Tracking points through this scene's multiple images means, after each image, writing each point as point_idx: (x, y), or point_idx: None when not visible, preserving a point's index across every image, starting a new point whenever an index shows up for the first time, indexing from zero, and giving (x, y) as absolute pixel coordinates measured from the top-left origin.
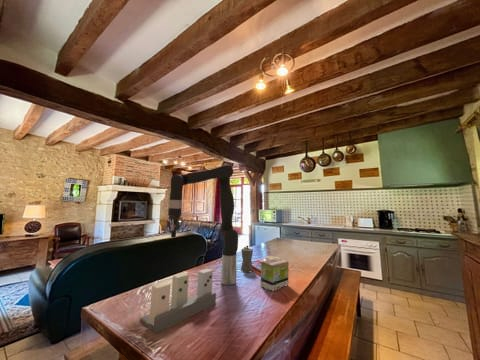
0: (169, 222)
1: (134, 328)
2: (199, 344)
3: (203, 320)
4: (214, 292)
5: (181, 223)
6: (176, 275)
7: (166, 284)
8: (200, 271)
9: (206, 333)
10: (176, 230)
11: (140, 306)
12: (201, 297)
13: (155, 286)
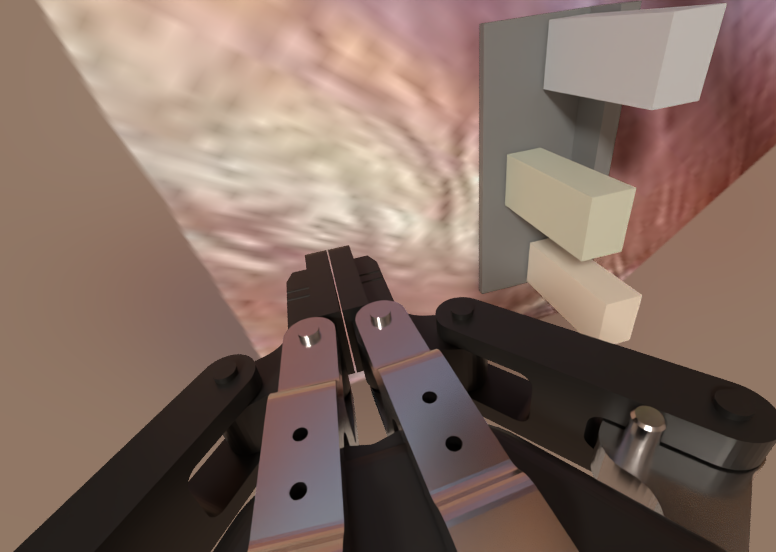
0: None
1: (502, 305)
2: (679, 198)
3: (631, 133)
4: (632, 6)
5: (724, 393)
6: (593, 246)
7: (633, 308)
8: (665, 99)
9: (674, 162)
10: (388, 304)
11: (394, 277)
12: (610, 103)
13: (613, 341)
